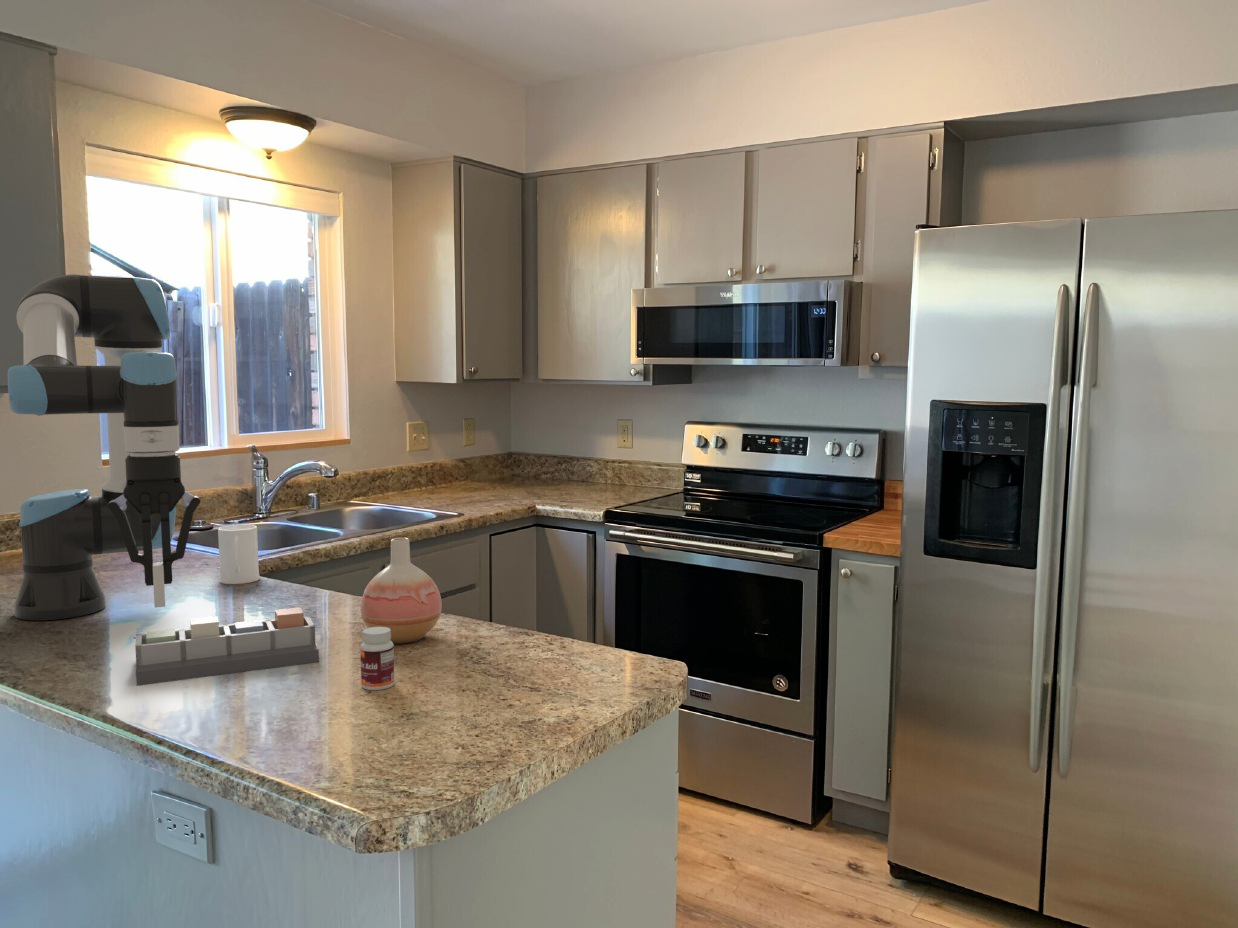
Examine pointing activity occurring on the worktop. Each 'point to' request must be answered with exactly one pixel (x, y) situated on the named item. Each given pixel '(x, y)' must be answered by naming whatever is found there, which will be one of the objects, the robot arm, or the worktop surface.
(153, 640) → the key sage
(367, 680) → the pill bottle
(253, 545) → the mug
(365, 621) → the vase
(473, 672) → the worktop surface
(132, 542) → the robot arm
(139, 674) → the grey slotted tray
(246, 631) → the key slate
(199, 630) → the key cream
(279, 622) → the key rust
